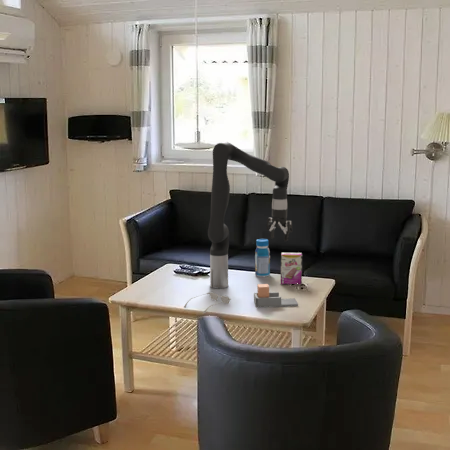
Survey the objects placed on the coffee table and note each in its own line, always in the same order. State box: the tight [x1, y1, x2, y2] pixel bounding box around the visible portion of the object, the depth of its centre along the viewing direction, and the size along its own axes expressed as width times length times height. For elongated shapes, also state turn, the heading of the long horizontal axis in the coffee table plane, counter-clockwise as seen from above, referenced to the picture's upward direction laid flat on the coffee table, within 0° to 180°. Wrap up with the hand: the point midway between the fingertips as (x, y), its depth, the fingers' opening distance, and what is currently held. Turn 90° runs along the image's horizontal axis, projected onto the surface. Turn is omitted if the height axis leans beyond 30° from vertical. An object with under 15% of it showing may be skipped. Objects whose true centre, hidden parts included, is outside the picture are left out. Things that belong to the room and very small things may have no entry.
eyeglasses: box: [183, 292, 232, 314], centre depth 320 cm, size 15×18×4 cm
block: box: [256, 283, 270, 298], centre depth 320 cm, size 5×5×8 cm
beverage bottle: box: [254, 238, 271, 278], centre depth 369 cm, size 8×8×20 cm
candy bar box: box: [280, 252, 303, 285], centre depth 353 cm, size 11×5×16 cm, turn 84°
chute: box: [253, 291, 299, 309], centre depth 321 cm, size 20×9×4 cm, turn 94°
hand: (279, 239), depth 334 cm, fingers open, 8 cm apart
